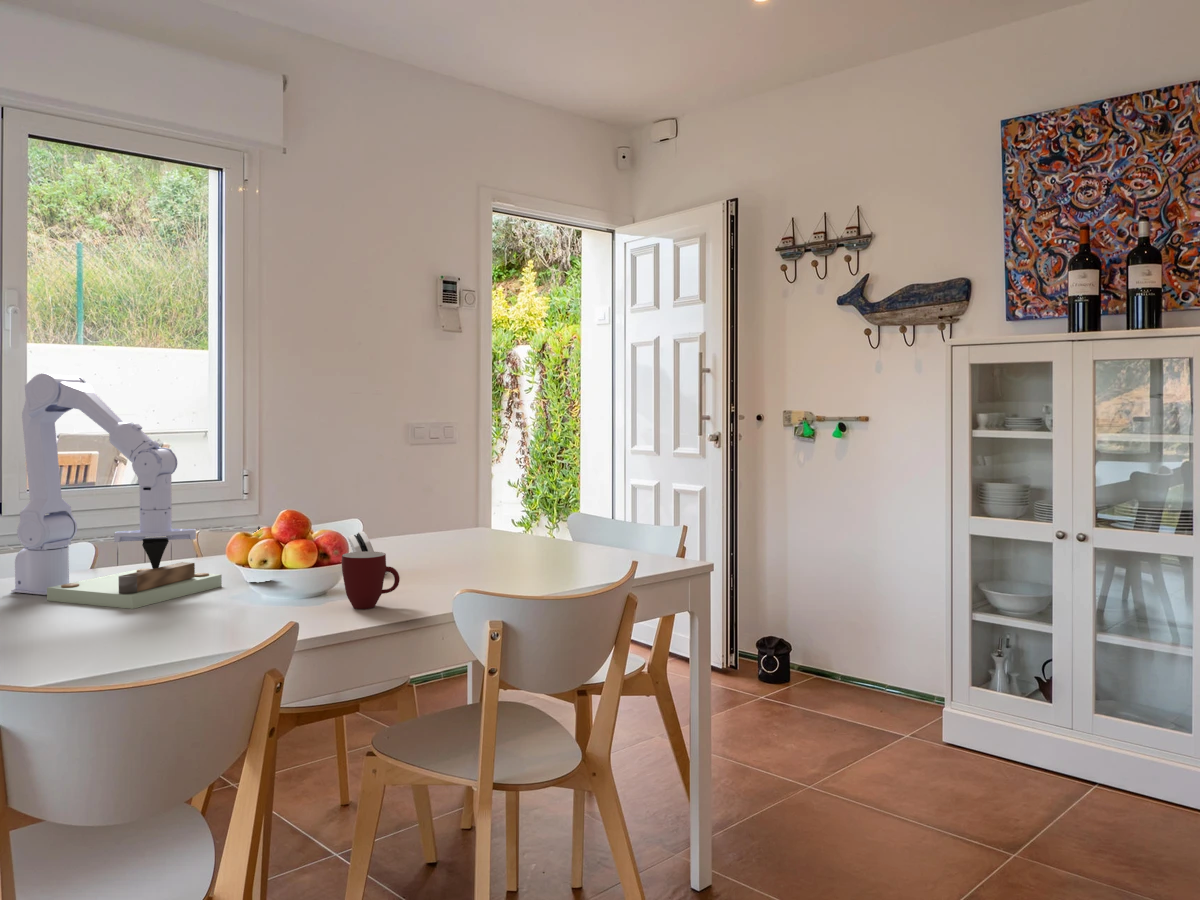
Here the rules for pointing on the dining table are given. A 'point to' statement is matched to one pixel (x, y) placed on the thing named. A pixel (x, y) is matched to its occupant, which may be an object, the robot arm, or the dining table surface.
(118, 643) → the dining table surface
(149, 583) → the folding leg
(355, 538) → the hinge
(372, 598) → the mug
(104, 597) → the stool seat
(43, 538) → the robot arm
